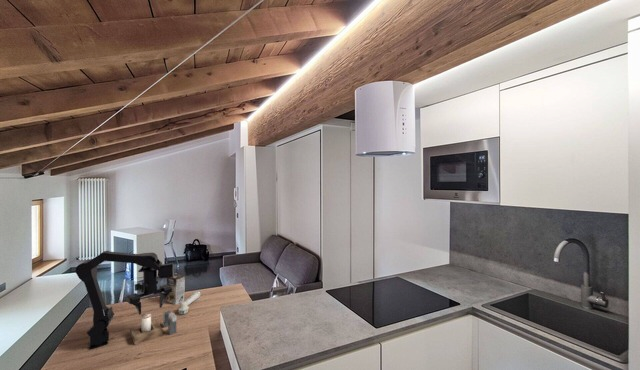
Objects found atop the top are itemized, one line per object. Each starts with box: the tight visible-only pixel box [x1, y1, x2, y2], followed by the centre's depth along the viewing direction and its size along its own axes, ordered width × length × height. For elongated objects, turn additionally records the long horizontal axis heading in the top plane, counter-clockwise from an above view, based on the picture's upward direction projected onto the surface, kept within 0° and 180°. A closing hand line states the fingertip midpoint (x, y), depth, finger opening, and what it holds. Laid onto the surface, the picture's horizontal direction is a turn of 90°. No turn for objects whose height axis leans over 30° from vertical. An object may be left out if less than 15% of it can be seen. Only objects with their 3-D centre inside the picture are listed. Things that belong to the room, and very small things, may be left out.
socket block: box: [129, 320, 163, 346], centre depth 137 cm, size 12×12×3 cm
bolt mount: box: [162, 310, 177, 336], centre depth 142 cm, size 3×12×7 cm, turn 43°
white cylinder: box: [140, 312, 152, 333], centre depth 137 cm, size 4×4×10 cm
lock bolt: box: [169, 311, 178, 322], centre depth 138 cm, size 2×6×2 cm, turn 43°
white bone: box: [177, 290, 202, 315], centre depth 169 cm, size 5×7×25 cm
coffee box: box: [166, 273, 186, 306], centre depth 174 cm, size 9×6×16 cm
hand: (150, 310), depth 136 cm, fingers open, 9 cm apart
